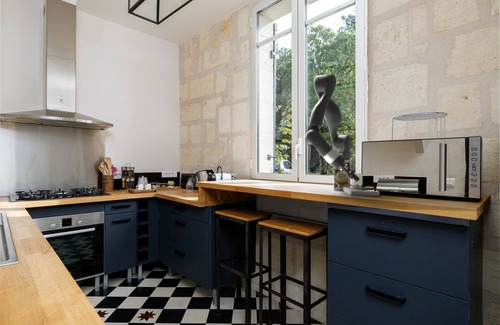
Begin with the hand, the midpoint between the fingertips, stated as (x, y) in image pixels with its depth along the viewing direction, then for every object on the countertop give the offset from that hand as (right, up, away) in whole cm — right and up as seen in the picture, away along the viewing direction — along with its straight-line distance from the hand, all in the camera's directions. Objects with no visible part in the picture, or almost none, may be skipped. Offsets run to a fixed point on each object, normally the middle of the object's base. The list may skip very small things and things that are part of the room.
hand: (356, 179), depth 148 cm
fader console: (-1, -6, -6) cm, 9 cm away
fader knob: (0, -4, 0) cm, 4 cm away
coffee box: (-4, -7, +13) cm, 15 cm away
